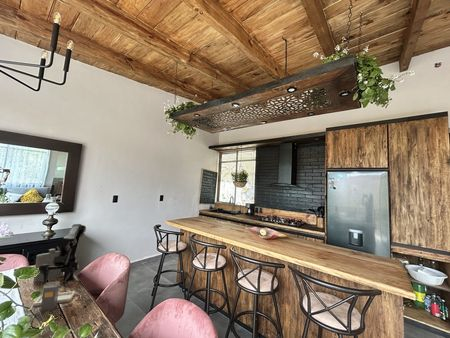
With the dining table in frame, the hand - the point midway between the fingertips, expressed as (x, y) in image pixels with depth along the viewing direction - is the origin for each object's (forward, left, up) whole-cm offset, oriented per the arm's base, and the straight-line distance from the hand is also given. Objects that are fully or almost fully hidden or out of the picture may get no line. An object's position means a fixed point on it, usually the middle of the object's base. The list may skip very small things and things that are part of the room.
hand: (54, 282), depth 115 cm
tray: (-3, +1, -11) cm, 12 cm away
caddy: (+4, -2, -11) cm, 12 cm away
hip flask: (-37, +4, -11) cm, 39 cm away
